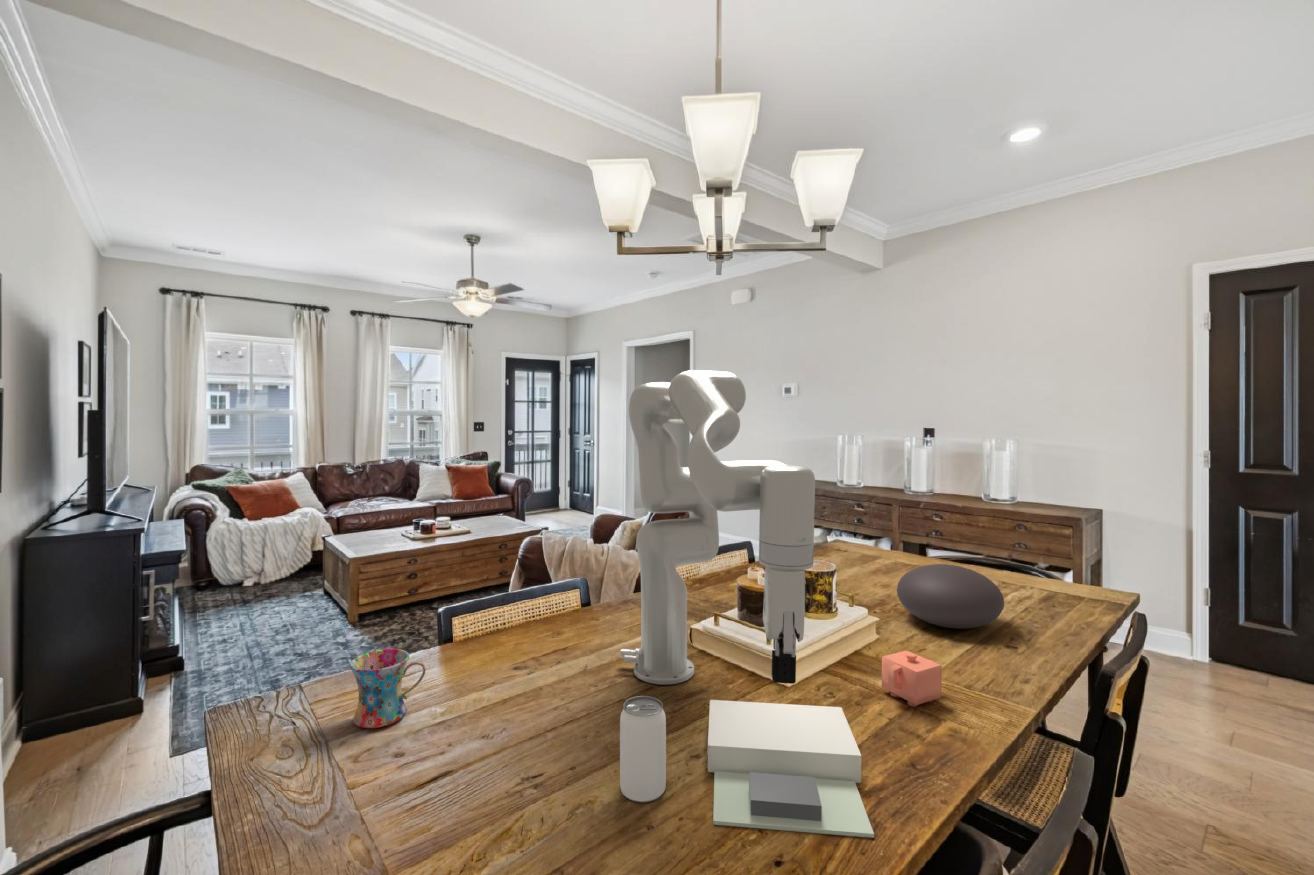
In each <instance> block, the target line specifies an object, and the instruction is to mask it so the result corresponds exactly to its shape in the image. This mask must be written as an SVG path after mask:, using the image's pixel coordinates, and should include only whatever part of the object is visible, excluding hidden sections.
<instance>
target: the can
mask: <svg viewBox="0 0 1314 875" xmlns="http://www.w3.org/2000/svg"><path fill="white" fill-rule="evenodd" d="M663 706H664V705H663V702H662V701H661V700H660V699H658V698H656V697H653V696H650V695H649V696H648V695H640V696H639V695H638V696H633V697H630V698H628V699H626V700H625V702H624V703H623V706H622V712H621V713H620V717H619V719H620V720H619V721H620V722H619V784H620V786H619V789H620V791H621V793H622V795H623V796H624V797H625V798H626V799H628V800H629V801H632V802H635V803H640V804H641V803H642V804H643V803H651V802H653V801H656V800H657V799H659V798H660V797H661V796H662V795H663V794H664V793H665V790H666V785H667V784H666V780H667V778H666V777H667V770H666V769H667V726H666V725H667V723H666V722H667V721H666V720H667V719H666V718H667V717H666V713H665V710H664V708H663Z"/></svg>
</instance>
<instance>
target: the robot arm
mask: <svg viewBox="0 0 1314 875" xmlns="http://www.w3.org/2000/svg"><path fill="white" fill-rule="evenodd" d="M746 396H747V395H746V388H745V385H744V383H743V381H742V379H740V378H739V376H738V375H736V374H735V373H732V372H730V371H722V370H721V371H720V370H698V369H693V370H690V369H689V370H685V371H682V372H681V373H678V374H676V375H675V376H674V377H673V378H672V379H671V380H670V382H669V381H668V382H667V381H657V382H654V381H653V382H647V383H642V384H640V385H638V386H637V387H635V388H634V389H633V390H632V393H631V394H630V399H629V403H628V414H629V416H628V417H629V422H630V426H631V429H632V432H633V436H634V439H635V442H636V446H637V452H638V470H639V486H640V488H639V489H640V496H641V501H642V502H641V503H642V506H643V507H644V509H645V511H647V512H649V513H652V514H674V513H688V514H689V517H688V518H672V519H671V518H670V519H669V518H668V519H659V520H654V521H650V522H647V523H645V524H644V525H642V526H641V527H640V528H639V530H638V531H637V534H636V537H635V538H636V539H635V540H636V542H635V543H636V544H635V545H636V551H637V557H638V562H639V570H640V571H639V574H640V599H641V600H640V604H641V605H640V610H641V611H640V613H641V615H640V618H641V619H640V630H641V631H640V632H641V633H640V635H641V636H640V637H641V638H640V643H641V645H640V647H636V648H635V649H630V648H621V649H620V659H623V663H634V664H633V673H634V676H635V677H636V678H637V679H639V680H641V681H643V682H646V683H649V684H653V685H662V686H663V685H667V686H668V685H676V684H680V683H681V684H682V683H684V682H686V681H688V680H690V679H691V678H692V677H693V676H694V674H695V666H694V663H693V662H692V661H691V660H689V659H688V658H687V657H688V638H687V637H688V633H687V632H688V622H687V621H688V590H687V585H686V582H685V580H684V579H683V577H682V576H681V575H680V574H679V572H678V570H677V567H680V566H684V565H685V566H686V565H694V564H701V563H708V562H710V561H712V560H714V559H715V557H717V554H718V552H719V546H720V534H719V532H720V531H719V518H718V511H719V512H738V511H739V512H740V511H741V512H742V511H752V510H754V511H757V510H759V524H758V525H759V530H758V531H759V534H758V541H759V542H758V546H759V547H758V563H759V564H760V565H761V566H763V567H765V569H764V580H763V581H764V582H763V583H764V584H763V608H762V609H763V610H762V622H763V627H764V632H765V637H766V639H767V640H768V641H770V642H771V641H773V644H772V645H773V649H772V650H771V678H772V682H773V683H776V684H777V683H778V684H789V685H791V684H792V685H793V684H796V681H797V679H796V678H797V654H796V649H797V648H796V647H797V646H796V645H797V642H798V643H800V642H802V641H803V639H804V632H805V618H806V617H805V616H806V615H805V614H806V613H805V612H806V607H805V606H806V570H809V569H811V568H813V567H814V550H815V548H814V544H815V541H814V540H815V504H816V502H815V500H816V499H815V498H816V478H815V473H814V472H813V471H812V469H810V468H808V467H805V466H800V465H790V464H789V465H788V464H786V463H784V462H782V461H779V460H773V459H759V460H757V459H756V460H753V459H747V460H721V459H720V458H719V457H718V455H717V454H716V453H717V452H719V451H721V450H722V449H724V448H726V447H728V446H729V445H730V444H731V443H732V442H733V441H734V440H735V439H736V437H737V436H738V434H739V432H740V429H741V420H740V419H741V418H740V417H739V413H740V412H741V411H742V409H743V408H744V406H745V404H746ZM667 424H668V425H669V424H672V425H685V426H686V428H687V429H688V432H689V433H690V434H691V436H692V437H691V439H690V442H689V445H688V449H687V466H681V464H680V454H679V451H680V450H679V444H678V443H677V442H678V441H676V439H675V437H674V436H673V434H672V433H671V432H670V431H669V430H668V428H667V427H666V426H665V425H667Z"/></svg>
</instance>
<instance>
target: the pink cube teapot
mask: <svg viewBox="0 0 1314 875" xmlns="http://www.w3.org/2000/svg"><path fill="white" fill-rule="evenodd" d="M942 669H943V667H942V664H939V663H937V662H935V661H934V660H932V659H927V658H925V657H923V656H921V655H918V654H916V653H915V652H914V653H913V652H911V651H909V650H908V649H907V650H903V651H898V652H893V653H890V654H887V655H883V656H882V657H881V688H883V689H884V690H886V691H888V692H890V693H889V696H891V697H894V698H902V699H903V700H905V701H907V705H908V706H910V707H914V708H915V707H918V706H919V705H922V704H925V703H930V702H931V703H932V701H935V700H938V699H941V698H942Z"/></svg>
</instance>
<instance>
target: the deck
mask: <svg viewBox="0 0 1314 875" xmlns="http://www.w3.org/2000/svg"><path fill="white" fill-rule="evenodd" d="M708 714H709V717H708V732H707V733H708V737H707V773H714V771H719V772H733V773H747V774H749V772H754V773H767V774H780V775H793V776H806V777H815V778H816V779H830V780H844V781H855V783H856V784H861V783H862V754H861V752H860V749H859V746H858V744H857V742H856V739H855V737H854V734H853V732H852V729H851V726H850V725H849V722H848V720H847V718H846V716H845V713H844V710H843V708H842V707H840V706H828V705H827V706H826V705H822V706H821V705H809V704H808V705H807V704H806V705H805V704H792V703H791V704H789V703H788V704H787V703H772V702H771V703H770V702H758V701H757V702H756V701H755V702H754V701H736V700H721V699H720V700H719V699H710V700H709V713H708Z"/></svg>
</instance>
